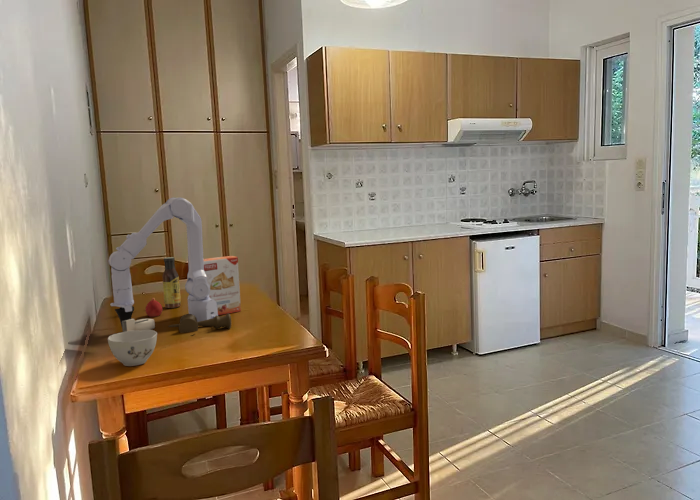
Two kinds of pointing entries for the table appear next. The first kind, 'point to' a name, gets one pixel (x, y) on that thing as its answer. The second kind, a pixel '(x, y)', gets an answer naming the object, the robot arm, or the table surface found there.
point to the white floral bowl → (133, 346)
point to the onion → (153, 308)
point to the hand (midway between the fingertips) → (126, 329)
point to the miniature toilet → (138, 324)
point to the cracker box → (224, 283)
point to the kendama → (201, 323)
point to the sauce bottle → (171, 284)
